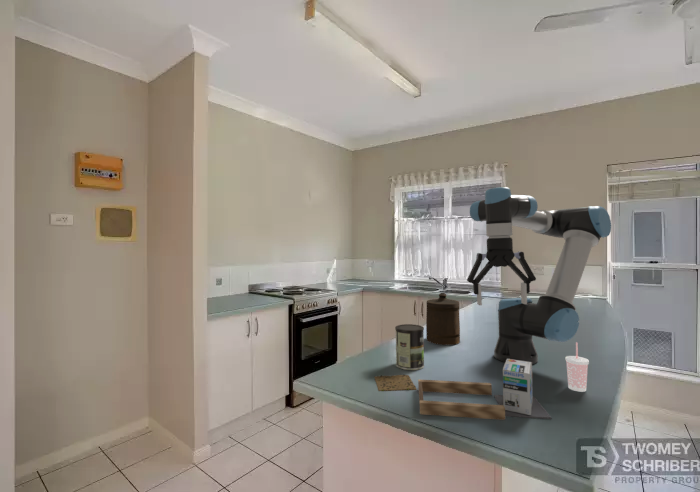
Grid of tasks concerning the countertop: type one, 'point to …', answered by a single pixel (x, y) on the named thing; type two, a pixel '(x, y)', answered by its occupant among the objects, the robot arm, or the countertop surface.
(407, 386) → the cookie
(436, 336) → the wooden container
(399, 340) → the coffee can
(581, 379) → the beverage cup
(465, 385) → the oak open-sided frame
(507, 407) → the light bulb box
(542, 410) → the rubber mat
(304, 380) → the countertop surface
